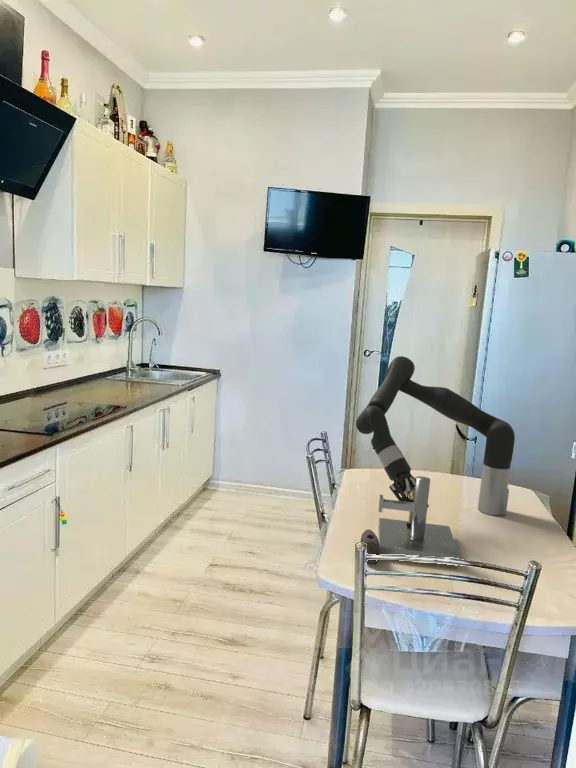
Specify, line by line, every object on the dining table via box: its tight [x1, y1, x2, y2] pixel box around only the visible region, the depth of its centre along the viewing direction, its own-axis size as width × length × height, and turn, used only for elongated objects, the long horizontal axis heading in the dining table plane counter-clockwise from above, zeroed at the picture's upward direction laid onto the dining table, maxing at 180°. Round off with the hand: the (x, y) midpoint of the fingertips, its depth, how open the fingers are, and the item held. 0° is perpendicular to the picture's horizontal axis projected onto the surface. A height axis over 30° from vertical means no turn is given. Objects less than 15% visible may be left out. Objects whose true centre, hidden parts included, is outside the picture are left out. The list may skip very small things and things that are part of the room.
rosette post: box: [377, 475, 461, 569], centre depth 164 cm, size 23×22×22 cm
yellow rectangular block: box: [408, 488, 415, 523], centre depth 171 cm, size 4×4×10 cm
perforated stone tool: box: [360, 529, 380, 564], centre depth 158 cm, size 15×5×7 cm, turn 175°
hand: (420, 510), depth 170 cm, fingers closed on yellow rectangular block, 5 cm apart
